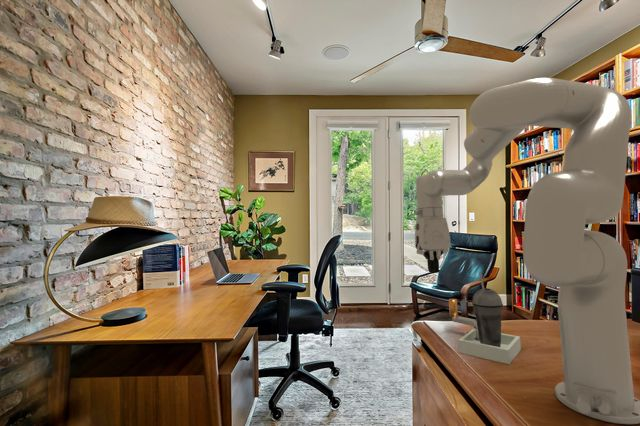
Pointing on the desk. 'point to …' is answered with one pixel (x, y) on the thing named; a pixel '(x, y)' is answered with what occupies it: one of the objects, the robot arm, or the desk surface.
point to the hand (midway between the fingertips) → (433, 272)
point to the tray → (490, 347)
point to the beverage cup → (488, 315)
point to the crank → (458, 319)
